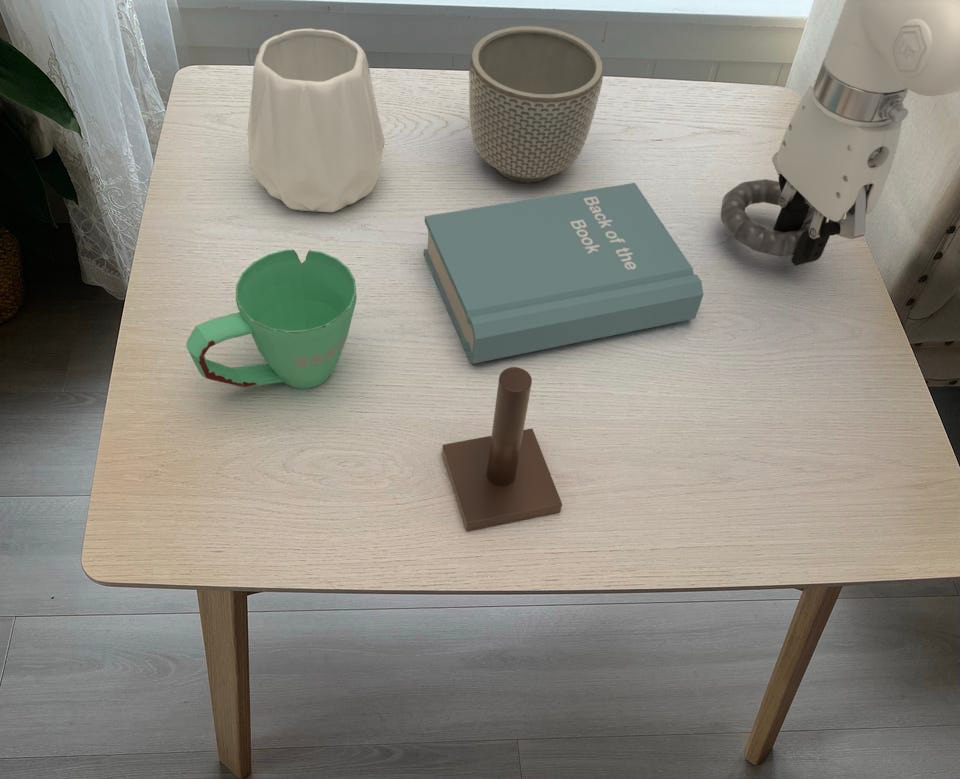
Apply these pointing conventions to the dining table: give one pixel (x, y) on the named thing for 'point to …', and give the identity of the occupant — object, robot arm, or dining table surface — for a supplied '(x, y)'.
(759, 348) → the dining table surface
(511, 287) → the book
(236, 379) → the mug
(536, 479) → the post
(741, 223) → the segmented grey ring
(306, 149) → the vase
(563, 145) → the planter
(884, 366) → the dining table surface
